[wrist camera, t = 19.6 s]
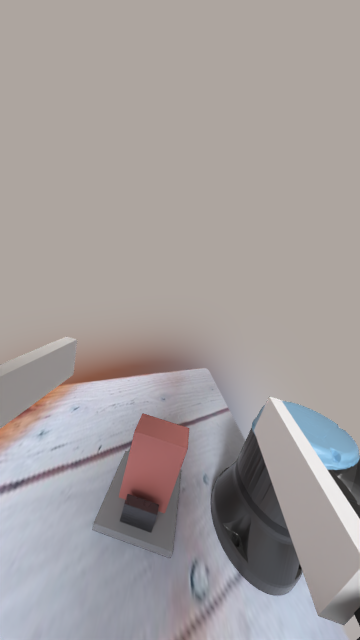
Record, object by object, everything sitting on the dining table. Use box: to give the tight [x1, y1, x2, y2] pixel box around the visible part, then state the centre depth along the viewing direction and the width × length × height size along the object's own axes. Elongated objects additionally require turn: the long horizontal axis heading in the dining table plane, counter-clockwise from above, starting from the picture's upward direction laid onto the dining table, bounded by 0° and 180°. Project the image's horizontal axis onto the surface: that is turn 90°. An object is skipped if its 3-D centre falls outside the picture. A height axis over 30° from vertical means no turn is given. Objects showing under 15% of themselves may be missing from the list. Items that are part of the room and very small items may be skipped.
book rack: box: [92, 451, 181, 558], centre depth 30 cm, size 12×11×6 cm
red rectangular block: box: [119, 414, 189, 513], centre depth 28 cm, size 8×4×14 cm, turn 82°
